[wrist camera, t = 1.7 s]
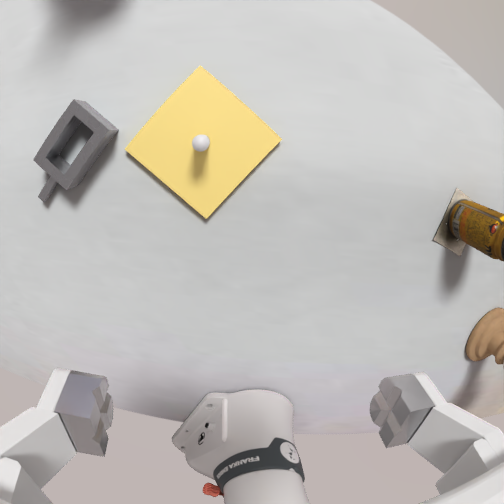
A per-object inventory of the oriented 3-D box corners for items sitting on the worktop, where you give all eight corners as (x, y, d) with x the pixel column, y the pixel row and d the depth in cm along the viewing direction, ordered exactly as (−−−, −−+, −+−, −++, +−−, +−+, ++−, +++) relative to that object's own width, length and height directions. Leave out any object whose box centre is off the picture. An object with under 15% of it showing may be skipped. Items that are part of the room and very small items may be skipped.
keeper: (206, 216, 36) (205, 231, 31) (127, 148, 33) (112, 151, 27) (280, 139, 34) (291, 140, 29) (200, 67, 30) (198, 55, 25)
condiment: (481, 208, 41) (536, 232, 29) (459, 256, 43) (509, 289, 32) (455, 187, 39) (515, 208, 28) (431, 239, 41) (486, 272, 30)
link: (61, 210, 34) (49, 218, 31) (31, 183, 32) (17, 188, 29) (118, 129, 32) (109, 129, 28) (85, 101, 30) (73, 99, 27)
